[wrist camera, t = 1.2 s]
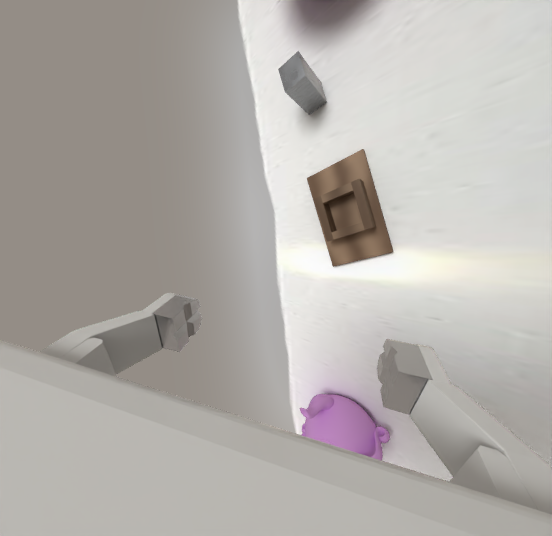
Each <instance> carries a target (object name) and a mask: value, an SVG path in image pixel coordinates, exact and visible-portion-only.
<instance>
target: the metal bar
mask: <svg viewBox="0 0 552 536" xmlns="http://www.w3.org/2000/svg"><path fill="white" fill-rule="evenodd" d="M278 70H279V73H280V76H281V80H282V83H283V87H284V90H285V93H287V94H288V95H289V96H290V97H291V98H292V99H293V100H294V101H295V102H296V103H297V104H298V105H299V106H300V107H301V108H303V109H304V110H305V111H306V112H307V113H308V114H311V113H312V112H314V111H315V110H317V109H318V108H319V107H321V106H322V105H324V104H325V103H326V102H327V101H326V98H325V94H324V91H323V87H322V84H321V82H320V80H319V79H318V78H317V76H316V75H315V73H314V72H313V71H312V69H311V68H310V66H309V65H308V64H307V62H306V61H305V60H304V58H303V57H302V55H301V54H300V53H299V51H298V52H297V53H296V54H295V55H293V56H292V57H291V58H290V59H289V60H288V61H287V62H286V63H285V64H284V65H283V66H281V67H280V68H279V69H278Z"/></svg>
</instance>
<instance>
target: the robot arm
mask: <svg viewBox="0 0 552 536" xmlns="http://www.w3.org/2000/svg"><path fill="white" fill-rule="evenodd" d="M199 308H200V302H199V300H198V299H195V298H191V297H187V296H182V295H177V294H173V293H166V294H164V295H163V296H162V297H160V298H159V299H158V300H156V301H155V302H153V303H152V304H151V305H149V306H148V307H147V308H145V309H144V310H143V311H137V312H133V313H130V314H126V315H123V316H120V317H117V318H113V319H110V320H107V321H104V322H100V323H97V324H94V325H91V326H87V327H84V328H81V329H77V330H75V331H72V332H71V333H69V334H67V335H66V336H64V337H63V338H61V339H59V340H58V341H56V342H55V343H53V344H51V345H50V346H48V347H47V348H45V349H43V350H42V351H40V352H37V351H34V350H31V349H28V348H25V347H22V346H18V345H15V344H12V343H9V342H6V341H3V340H0V536H552V468H551V467H550V465H549V464H548V463H547V462H546V461H545V460H544V459H542V458H541V457H540V456H539V455H538V454H537V453H535V452H534V451H533V450H532V449H531V448H529V447H528V446H527V445H526V444H525V443H524V442H522V441H521V440H520V439H519V438H518V437H516V436H515V435H514V434H513V433H512V432H511V431H509V430H508V429H507V428H506V427H505V426H503V425H502V424H501V423H500V422H499V421H498V420H496V419H495V418H494V417H493V416H492V415H490V414H489V413H488V412H487V411H486V410H485V409H483V408H482V407H481V406H480V405H479V404H477V403H476V402H475V401H474V400H473V399H472V398H470V397H469V396H468V395H467V394H466V393H465V392H463V391H462V390H461V389H460V388H459V387H457V386H455V385H452V384H451V382H450V380H449V378H448V376H447V374H446V372H445V371H444V369H443V367H442V365H441V363H440V361H439V359H438V357H437V355H436V353H435V351H434V349H433V348H431V347H428V346H423V345H418V344H411V343H406V342H401V341H396V340H391V339H387V340H386V341H385V343H384V346H383V347H384V353H382V354H381V355H380V357H379V360H378V368H377V369H378V379H379V381H380V382H381V383H382V384H383V385H382V387H381V395H382V401H383V406H384V407H385V408H389V409H392V410H395V411H399V412H402V413H406V414H409V415H410V417H411V419H412V420H413V422H414V423H415V424H416V426H417V427H418V429H419V430H420V431H421V433H422V434H423V435H424V437H425V438H426V440H427V441H428V442H429V444H430V445H431V447H432V448H433V449H434V451H435V452H436V454H437V455H438V456H439V458H440V459H441V461H442V462H443V463H444V465H445V466H446V467H447V469H448V470H449V472H450V473H451V474H452V476H453V478H452V479H451V480H450V482H447V481H444V480H441V479H438V478H435V477H432V476H428V475H425V474H422V473H419V472H416V471H413V470H410V469H406V468H403V467H400V466H397V465H394V464H391V463H388V462H384V461H381V460H378V459H375V458H372V457H369V456H365V455H362V454H359V453H356V452H353V451H350V450H346V449H343V448H340V447H337V446H334V445H331V444H327V443H324V442H321V441H318V440H315V439H312V438H308V437H305V436H302V435H299V434H296V433H292V432H289V431H286V430H283V429H280V428H277V427H274V426H270V425H267V424H264V423H261V422H258V421H254V420H251V419H248V418H245V417H242V416H238V415H236V414H232V413H229V412H226V411H223V410H220V409H217V408H214V407H211V406H207V405H204V404H201V403H198V402H195V401H192V400H188V399H185V398H182V397H179V396H176V395H173V394H170V393H167V392H163V391H160V390H157V389H154V388H150V387H148V386H144V385H141V384H138V383H135V382H132V381H129V380H126V379H122V378H119V377H117V376H116V374H118V373H120V372H121V371H123V370H125V369H127V368H129V367H131V366H133V365H134V364H136V363H138V362H140V361H141V360H143V359H145V358H147V357H149V356H150V355H152V354H154V353H156V352H158V351H160V350H161V349H162V348H165V349H169V350H174V351H177V352H180V351H181V350H182V349H183V347H184V346H185V345H186V344H187V343H188V342H189V337H190V336H192V335H194V334H195V333H196V332H197V331H198V330H199V327H200V325H201V320H202V317H201V314H200V313H199V311H198V309H199Z"/></svg>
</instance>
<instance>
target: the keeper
mask: <svg viewBox="0 0 552 536" xmlns="http://www.w3.org/2000/svg"><path fill="white" fill-rule="evenodd" d="M307 180H308V184H309V187H310V191H311V194H312V197H313V201H314V204H315V207H316V211H317V214H318V217H319V221H320V224H321V228H322V231H323V234H324V238H325V241H326V244H327V248H328V251H329V255H330V258H331V261H332V265H333V266H337V265H341V264H346V263H350V262H354V261H358V260H362V259H366V258H370V257H374V256H378V255H383V254H387V253H391V252H393V248H392V245H391V241H390V238H389V235H388V231H387V228H386V224H385V221H384V217H383V214H382V210H381V207H380V203H379V200H378V196H377V193H376V189H375V186H374V182H373V179H372V175H371V172H370V169H369V165H368V162H367V158H366V155H365V151H364V149H362V150H360V151H358V152H356V153H354V154H353V155H351V156H349V157H347V158H345V159H343V160H341V161H339V162H337V163H335V164H333V165H331V166H330V167H328V168H326V169H324V170H322V171H320V172H318V173H316V174H314V175H312V176H310V177H308V178H307Z"/></svg>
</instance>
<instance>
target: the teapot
mask: <svg viewBox="0 0 552 536" xmlns="http://www.w3.org/2000/svg"><path fill="white" fill-rule="evenodd" d="M300 411H301V413H302V414H303V415H304V416H305V417H306V421H305V424H303V426H302V432H303V434H302V436H305V437H308V438H312V439H315V440H318V441H321V442H324V443H327V444H331V445H334V446H337V447H340V448H343V449H346V450H350V451H353V452H356V453H359V454H362V455H365V456H369V457H372V458H375V459H378V460H381V461H382V447H381V442H382V443H386V442H388V441H389V439H390V436H389V432H388V431H387V430H386V429H385V428H383V427H380V426H379V427H376V426H375V424H374V422H373V421H372V419H371V418H370V416H369V415H368V414H367V413H366V412H365V411H364V409H363V408H361V407H360V406H359V405H358V404H357V403H355V402H354V401H352V400H350V399H348V398H346V397H343V396H340V395H332V394H328V395H325V394H318V395H316V396H314V397H313V398H312V400H311V402H310V405H309V407H308V408H307V409H304V408H300Z"/></svg>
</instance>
